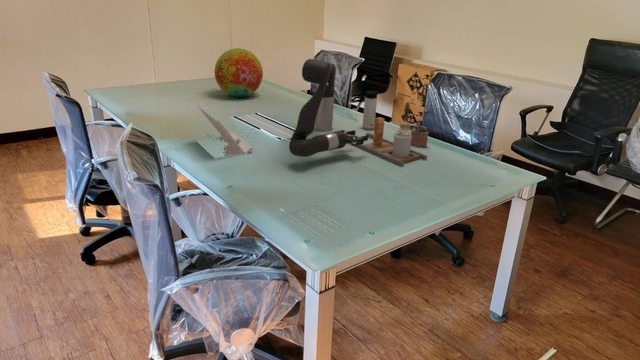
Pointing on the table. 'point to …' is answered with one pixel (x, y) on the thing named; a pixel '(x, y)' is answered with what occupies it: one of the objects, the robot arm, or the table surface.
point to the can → (402, 144)
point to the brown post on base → (385, 146)
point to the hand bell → (405, 124)
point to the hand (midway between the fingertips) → (361, 135)
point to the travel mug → (369, 110)
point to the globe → (238, 72)
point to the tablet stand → (228, 137)
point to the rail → (384, 156)
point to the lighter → (419, 136)
